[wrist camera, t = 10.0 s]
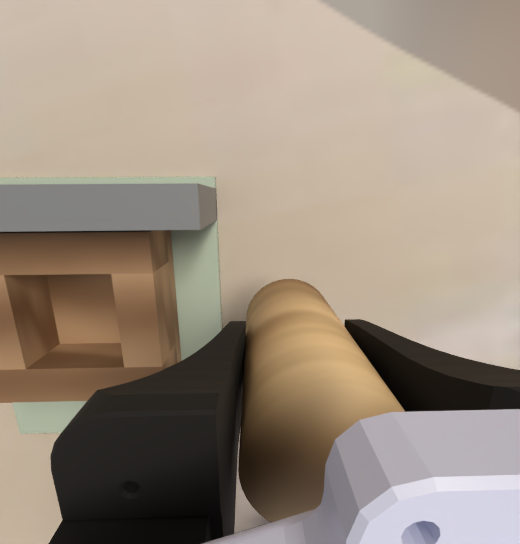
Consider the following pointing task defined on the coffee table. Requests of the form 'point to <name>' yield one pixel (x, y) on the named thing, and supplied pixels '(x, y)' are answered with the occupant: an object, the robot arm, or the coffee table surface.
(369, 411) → the oak dowel
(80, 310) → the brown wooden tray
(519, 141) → the coffee table surface
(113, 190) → the slate stop wall
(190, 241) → the sage rubber mat
